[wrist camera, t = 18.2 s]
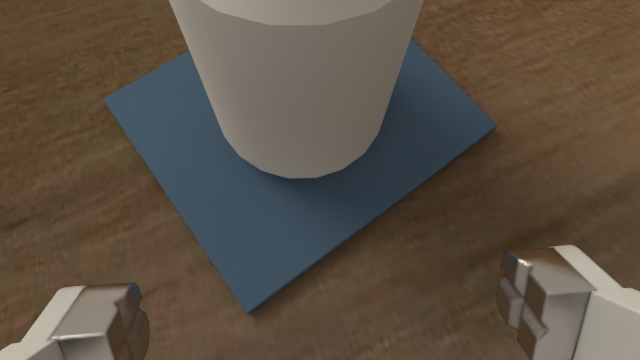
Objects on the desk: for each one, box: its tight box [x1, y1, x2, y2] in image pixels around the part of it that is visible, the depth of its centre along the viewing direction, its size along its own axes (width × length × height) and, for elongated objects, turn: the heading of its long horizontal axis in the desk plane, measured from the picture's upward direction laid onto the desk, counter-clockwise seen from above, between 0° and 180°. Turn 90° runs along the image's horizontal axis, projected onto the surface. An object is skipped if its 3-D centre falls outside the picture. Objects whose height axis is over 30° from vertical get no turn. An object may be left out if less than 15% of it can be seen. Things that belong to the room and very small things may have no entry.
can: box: [169, 0, 423, 178], centre depth 15 cm, size 8×8×12 cm
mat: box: [104, 38, 497, 314], centre depth 21 cm, size 14×12×1 cm
